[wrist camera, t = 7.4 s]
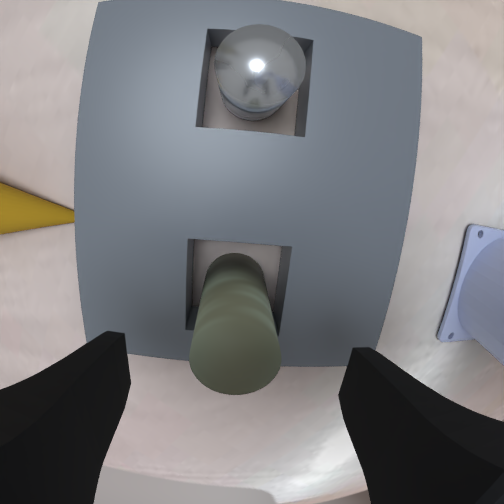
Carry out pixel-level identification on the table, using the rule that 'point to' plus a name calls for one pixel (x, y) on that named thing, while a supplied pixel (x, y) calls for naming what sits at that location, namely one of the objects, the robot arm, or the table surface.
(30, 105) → the table surface
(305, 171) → the pin board
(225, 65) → the grey metal pin
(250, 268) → the sage green pin
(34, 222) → the ice cream cone
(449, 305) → the robot arm
